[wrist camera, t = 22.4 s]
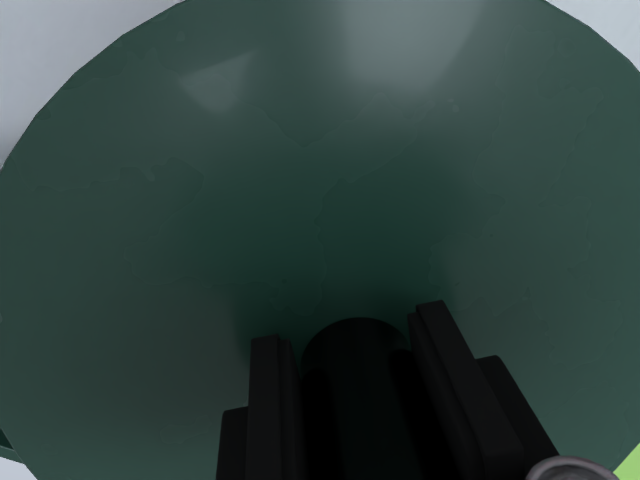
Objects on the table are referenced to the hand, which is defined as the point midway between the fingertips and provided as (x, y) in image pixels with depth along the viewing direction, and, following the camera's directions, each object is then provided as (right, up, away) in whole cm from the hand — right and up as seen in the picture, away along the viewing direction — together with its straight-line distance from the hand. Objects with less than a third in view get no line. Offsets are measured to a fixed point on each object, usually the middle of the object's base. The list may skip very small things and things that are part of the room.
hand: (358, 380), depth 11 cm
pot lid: (0, 0, +1) cm, 1 cm away
